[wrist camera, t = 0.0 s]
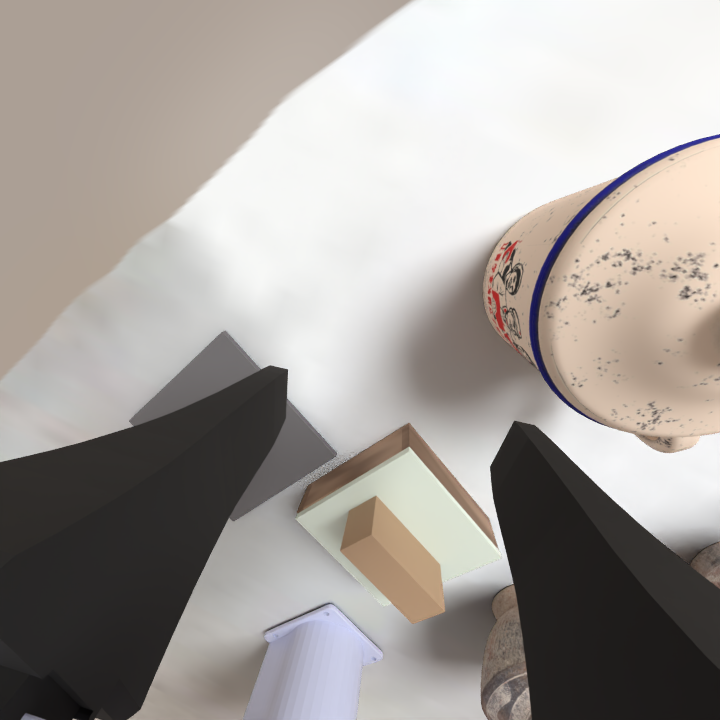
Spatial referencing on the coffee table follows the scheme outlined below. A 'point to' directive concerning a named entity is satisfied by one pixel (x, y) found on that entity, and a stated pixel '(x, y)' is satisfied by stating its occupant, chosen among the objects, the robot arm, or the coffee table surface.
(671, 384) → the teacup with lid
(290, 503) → the coffee table surface
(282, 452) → the mat
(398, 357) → the coffee table surface
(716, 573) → the pottery
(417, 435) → the tea box
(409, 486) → the lid
